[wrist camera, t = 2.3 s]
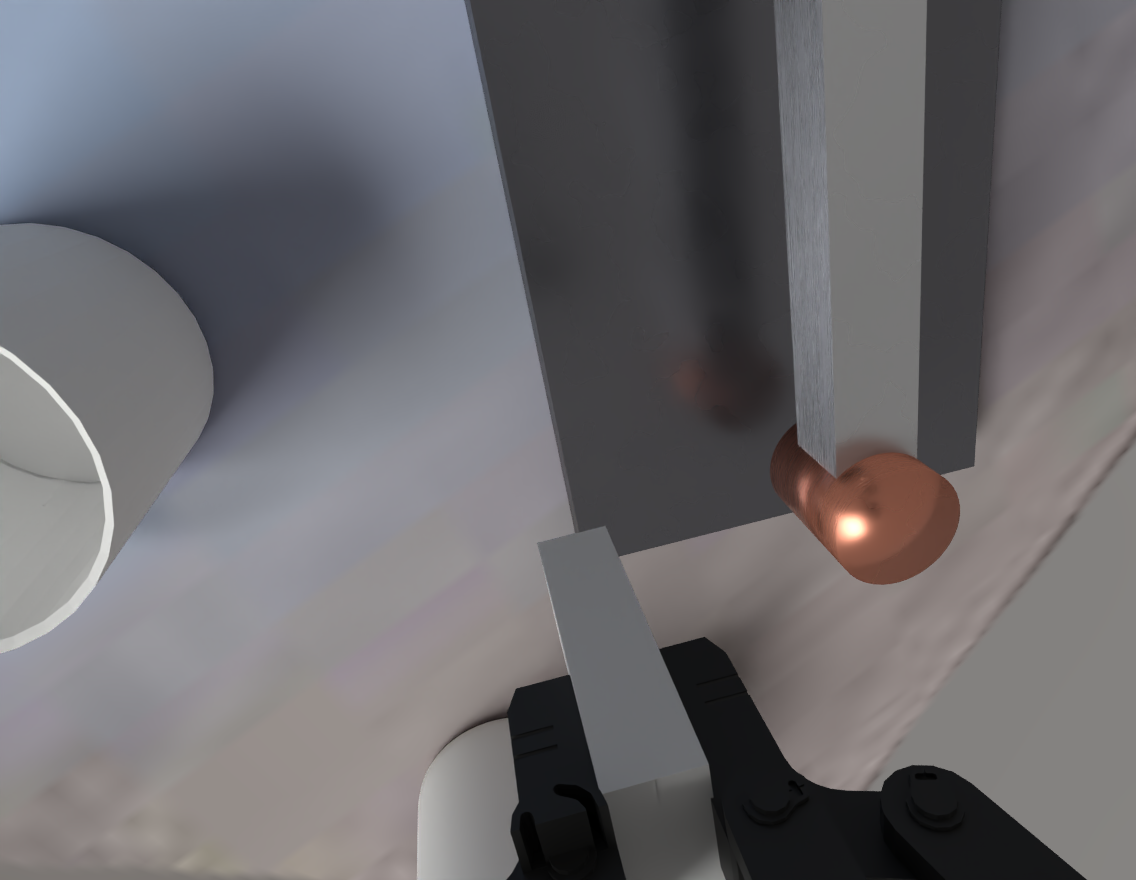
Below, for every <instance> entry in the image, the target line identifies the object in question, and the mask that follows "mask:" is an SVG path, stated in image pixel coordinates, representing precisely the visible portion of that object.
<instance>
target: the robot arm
mask: <svg viewBox="0 0 1136 880" xmlns="http://www.w3.org/2000/svg"><path fill="white" fill-rule="evenodd" d="M537 544H538V548H539V553H540V557H541V561H542V565H543V570H544V574H545V578H546V582H547V587H548V591H549V595H550V599H551V604H552V608H553V612H554V616H555V621H556V625H557V629H558V633H559V638H560V642H561V646H562V650H563V654H564V658H565V662H566V666H567V670H568V674H569V675H566V676H563V677H559V678H555V679H551V680H547V681H544V682H540V683H536V684H532V685H529V686H525V687H521V688H517V689H516V690H515V693H514V696H513V698H512V701H511V704H510V707H509V709H508V712H507V714H508V722H509V730H510V737H511V745H512V753H513V759H514V768H515V776H516V784H517V792H518V799H519V803H518V804H517V806H516V808H515V810H514V812H513V814H512V819H511V829H510V833H511V836H512V839H513V843H514V846H515V849H516V852H517V855H518V859H519V861H518V863H517V864H516V866H515V868H514V870H513V872H512V873H511V875H510V876H509V877H508V878H507V879H506V880H725V879H726V880H1086V879H1085V878H1084V877H1083V876H1082V875H1080V874H1079V873H1078V872H1077V871H1076V870H1075V869H1073V868H1072V867H1071V866H1070V865H1069V864H1067V863H1066V862H1065V861H1064V860H1063V859H1061V858H1060V857H1059V856H1058V855H1057V854H1055V853H1054V852H1053V851H1052V850H1051V849H1049V848H1048V847H1047V846H1046V845H1044V844H1043V843H1042V842H1041V841H1040V840H1039V839H1037V838H1036V837H1035V836H1034V835H1033V834H1031V833H1030V832H1029V831H1028V830H1027V829H1025V828H1024V827H1023V826H1022V825H1020V824H1019V823H1018V822H1017V821H1016V820H1015V819H1013V818H1012V817H1011V816H1010V815H1009V814H1007V813H1006V812H1005V811H1004V810H1003V809H1002V808H1000V807H999V806H998V805H997V804H996V803H994V802H993V801H992V800H991V799H989V798H988V797H987V796H986V795H985V794H984V793H982V792H981V791H980V790H978V788H976V787H975V786H974V785H973V784H972V783H970V782H968V781H967V780H965V779H964V778H962V777H960V776H959V775H957V774H956V773H954V772H952V771H948V770H945V769H941V768H938V767H935V766H922V765H921V766H920V765H918V766H917V765H912V766H909V767H906V768H903V769H900V770H897V771H895V772H894V773H893V774H892V775H891V776H890V777H889V778H887V779H886V780H885V781H884V784H883V787H882V791H879V792H877V791H845V790H836V789H830V788H826V787H823V786H820V785H817V784H815V783H813V782H811V781H809V780H807V779H806V778H805V777H804V776H802V775H801V774H799V773H797V772H796V771H795V770H794V769H793V768H792V767H791V766H790V765H789V763H788V762H787V761H786V759H785V758H784V756H783V754H782V753H781V751H780V749H779V747H778V745H777V744H776V742H775V740H774V738H773V736H772V735H771V733H770V731H769V729H768V727H767V726H766V724H765V722H764V720H763V719H762V717H761V715H760V713H759V711H758V710H757V708H756V706H755V704H754V702H753V701H752V699H751V697H750V695H748V693H747V690H746V688H745V686H744V684H743V683H742V681H741V679H740V677H738V674H737V672H736V670H735V668H734V667H733V665H732V663H731V661H730V659H729V658H728V656H727V654H726V652H724V651H723V650H722V649H720V648H719V647H718V646H716V645H715V644H713V643H712V642H711V641H709V640H708V639H707V638H705V637H703V638H699V639H695V640H691V641H688V642H684V643H680V644H676V645H672V646H669V647H665V648H661V649H659V648H658V646H657V644H656V642H655V639H654V637H653V635H652V632H651V630H650V628H649V625H648V623H647V621H646V618H645V616H644V614H643V612H642V609H641V607H640V605H639V602H638V600H637V598H636V595H635V593H634V591H633V588H632V586H631V584H630V582H629V579H628V577H627V575H626V572H625V570H624V568H623V565H622V563H621V561H620V559H619V556H618V554H617V552H616V549H615V547H614V545H613V542H612V540H611V538H610V535H609V533H608V531H607V529H606V526H603V527H599V528H595V529H591V530H587V531H583V532H579V533H575V534H571V535H567V536H563V537H559V538H555V539H551V540H547V541H543V542H539V543H537Z"/></svg>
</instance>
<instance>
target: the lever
mask: <svg viewBox="0 0 1136 880" xmlns="http://www.w3.org/2000/svg"><path fill="white" fill-rule="evenodd" d="M774 16H775V34H776V52H777V71H778V89H779V108H780V126H781V144H782V163H783V181H784V199H785V218H786V236H787V254H788V273H789V291H790V310H791V328H792V346H793V365H794V383H795V401H796V420H797V423H795V424H794V425H793V426H792V427H791V428H790V429H789V430H788V431H787V432H786V433H785V434H784V435H783V436H782V438H781V439H780V441H779V442H778V444H777V446H776V448H775V450H774V452H773V455H772V459H771V464H770V478H771V482H772V486H773V488H774V490H775V492H776V493H777V495H778V496H779V497H780V498H781V499H782V500H783V502H784V503H785V504H786V505H787V506H788V507H789V508H790V509H791V510H792V511H793V512H794V514H795V515H796V516H797V517H798V518H799V519H800V520H801V521H802V522H803V523H804V525H805V526H806V527H807V528H808V529H809V530H810V531H811V532H812V533H813V534H814V535H815V537H816V538H817V539H818V540H819V541H820V542H821V543H822V544H823V545H824V546H825V547H826V549H827V550H828V551H829V552H830V553H831V554H832V555H833V556H834V557H835V558H836V560H837V561H838V562H839V563H840V564H841V565H842V566H843V567H844V568H845V569H846V570H847V571H848V572H849V573H850V574H851V575H852V576H853V577H855V578H856V579H858V580H861V581H863V582H866V583H870V584H881V585H884V584H892V583H897V582H901V581H904V580H907V579H909V578H911V577H913V576H915V575H917V574H919V573H921V572H922V571H924V570H925V569H927V568H928V567H929V566H930V565H932V564H933V563H934V562H935V561H936V560H937V559H938V558H939V557H940V556H941V555H942V554H943V552H944V551H945V550H946V549H947V547H948V546H949V544H950V543H951V541H952V539H953V537H954V535H955V532H956V530H957V527H958V523H959V517H960V504H959V499H958V496H957V493H956V491H955V490H954V488H953V486H952V485H951V484H950V483H949V482H948V481H947V480H946V479H945V478H944V477H942V476H941V475H939V474H938V473H937V472H935V471H934V470H932V469H931V468H929V467H928V466H927V465H925V464H924V463H922V462H921V461H920V460H918V459H917V435H918V389H919V342H920V296H921V250H922V204H923V158H924V112H925V66H926V19H927V0H774Z"/></svg>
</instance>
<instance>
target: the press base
mask: <svg viewBox="0 0 1136 880" xmlns="http://www.w3.org/2000/svg"><path fill="white" fill-rule="evenodd" d="M1001 1H1002V0H927V19H926V66H925V112H924V158H923V204H922V250H921V296H920V342H919V389H918V435H917V459H918V460H920V461H921V462H922V463H924V464H925V465H927V466H928V467H929V468H931V469H932V470H934V471H935V472H937V473H938V474H939V475H941V474H945V473H949V472H953V471H957V470H961V469H965V468H969V467H973V466H974V461H975V444H976V427H977V410H978V393H979V376H980V359H981V342H982V325H983V308H984V291H985V274H986V257H987V240H988V223H989V206H990V189H991V171H992V154H993V137H994V120H995V103H996V86H997V69H998V52H999V35H1000V18H1001ZM465 5H466V10H467V15H468V19H469V24H470V29H471V34H472V39H473V43H474V48H475V53H476V58H477V63H478V67H479V72H480V77H481V82H482V87H483V91H484V96H485V101H486V106H487V111H488V115H489V120H490V125H491V130H492V135H493V140H494V144H495V149H496V154H497V159H498V164H499V168H500V173H501V178H502V183H503V188H504V192H505V197H506V202H507V207H508V212H509V216H510V221H511V226H512V231H513V236H514V241H515V245H516V250H517V255H518V260H519V265H520V269H521V274H522V279H523V284H524V289H525V293H526V298H527V303H528V308H529V313H530V317H531V322H532V327H533V332H534V337H535V341H536V346H537V351H538V356H539V361H540V366H541V370H542V375H543V380H544V385H545V390H546V394H547V399H548V404H549V409H550V414H551V418H552V423H553V428H554V433H555V438H556V442H557V447H558V452H559V457H560V462H561V467H562V471H563V476H564V481H565V486H566V491H567V495H568V500H569V505H570V510H571V515H572V519H573V524H574V529H575V533H579V532H583V531H587V530H591V529H595V528H599V527H603V526H606V529H607V531H608V533H609V535H610V538H611V540H612V542H613V545H614V547H615V549H616V552H617V554H618V556H623V555H626V554H630V553H634V552H638V551H642V550H646V549H650V548H654V547H658V546H662V545H666V544H670V543H674V542H678V541H682V540H686V539H689V538H693V537H697V536H701V535H705V534H709V533H713V532H717V531H721V530H725V529H729V528H733V527H737V526H741V525H745V524H748V523H752V522H756V521H760V520H764V519H768V518H772V517H776V516H780V515H784V514H788V513H792V512H793V511H792V510H791V509H790V508H789V507H788V506H787V505H786V504H785V503H784V502H783V500H782V499H781V498H780V497H779V496H778V495H777V493H776V492H775V490H774V488H773V486H772V482H771V478H770V464H771V459H772V455H773V452H774V450H775V448H776V446H777V444H778V442H779V441H780V439H781V438H782V436H783V435H784V434H785V433H786V432H787V431H788V430H789V429H790V428H791V427H792V426H793V425H794V424H795V423H797V420H796V401H795V383H794V365H793V346H792V328H791V310H790V291H789V273H788V254H787V236H786V218H785V199H784V181H783V163H782V144H781V126H780V108H779V89H778V71H777V52H776V34H775V16H774V0H465Z"/></svg>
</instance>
